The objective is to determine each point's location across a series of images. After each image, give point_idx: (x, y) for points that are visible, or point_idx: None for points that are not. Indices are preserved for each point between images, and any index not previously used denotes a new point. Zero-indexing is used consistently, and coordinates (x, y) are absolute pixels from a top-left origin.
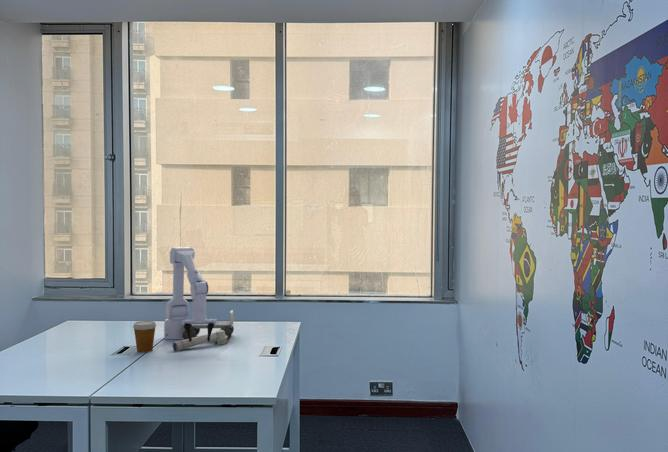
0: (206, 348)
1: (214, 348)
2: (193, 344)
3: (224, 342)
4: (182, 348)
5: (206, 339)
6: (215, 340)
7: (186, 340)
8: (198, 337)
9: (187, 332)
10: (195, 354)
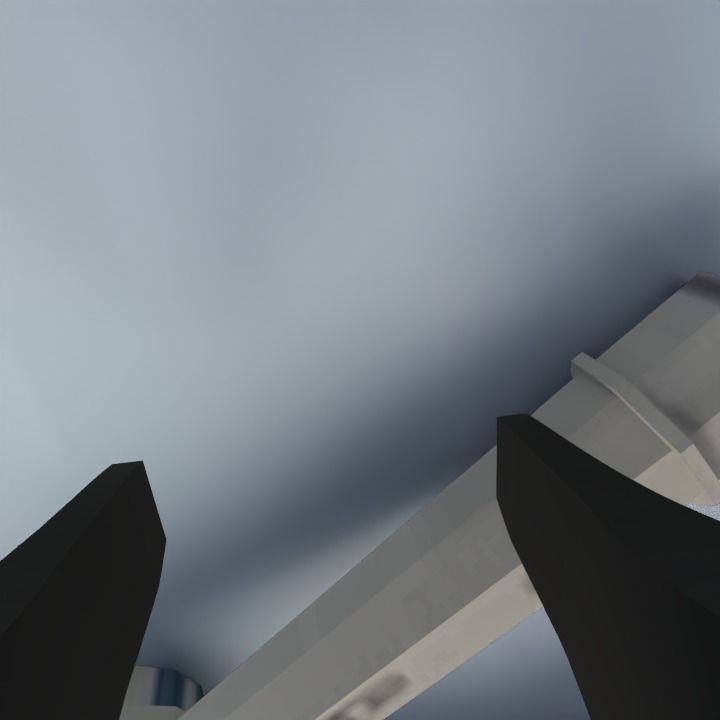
0: (238, 474)
1: None
2: (451, 487)
3: None
4: (606, 354)
5: (268, 658)
6: (169, 713)
7: None
8: (400, 647)
9: (687, 515)
10: (302, 47)
